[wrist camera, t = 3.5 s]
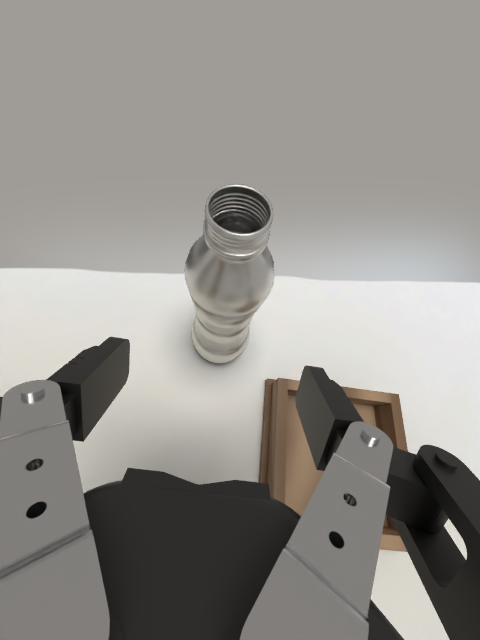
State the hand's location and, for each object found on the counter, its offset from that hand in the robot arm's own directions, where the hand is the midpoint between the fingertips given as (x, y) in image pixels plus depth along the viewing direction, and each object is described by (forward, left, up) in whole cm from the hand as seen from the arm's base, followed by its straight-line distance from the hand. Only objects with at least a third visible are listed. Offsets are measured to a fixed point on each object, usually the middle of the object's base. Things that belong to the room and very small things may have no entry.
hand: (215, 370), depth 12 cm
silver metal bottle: (0, +8, -18) cm, 20 cm away
